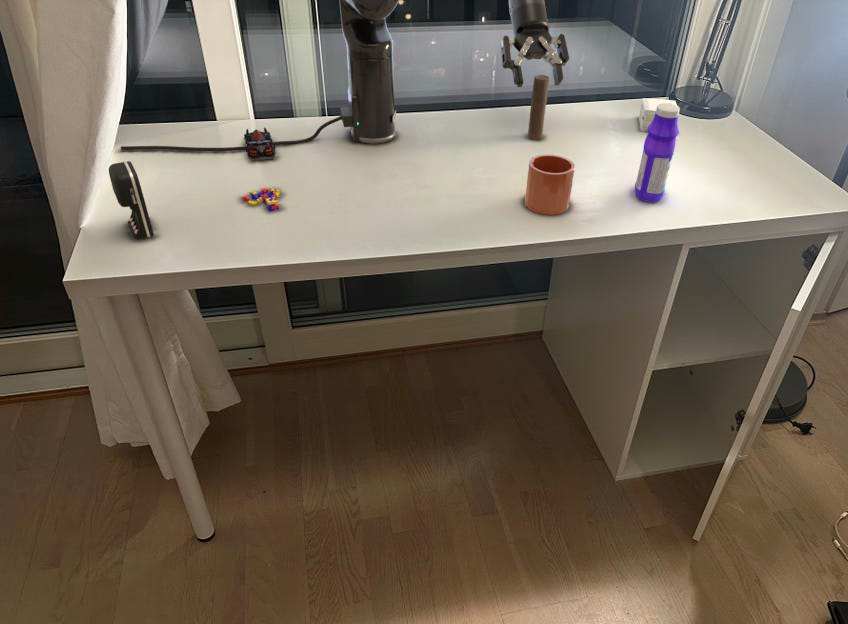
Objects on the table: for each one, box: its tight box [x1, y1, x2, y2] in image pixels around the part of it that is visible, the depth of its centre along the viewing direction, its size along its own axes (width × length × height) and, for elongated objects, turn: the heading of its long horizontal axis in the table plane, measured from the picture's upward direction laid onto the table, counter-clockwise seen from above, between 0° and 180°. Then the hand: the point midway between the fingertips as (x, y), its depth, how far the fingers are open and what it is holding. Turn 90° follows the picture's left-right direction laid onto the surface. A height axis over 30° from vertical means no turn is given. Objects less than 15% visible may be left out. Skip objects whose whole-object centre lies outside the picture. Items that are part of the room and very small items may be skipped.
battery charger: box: [108, 160, 155, 239], centre depth 115 cm, size 7×4×11 cm, turn 30°
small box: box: [638, 97, 677, 132], centre depth 162 cm, size 8×8×5 cm
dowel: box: [527, 74, 550, 141], centre depth 152 cm, size 3×3×13 cm
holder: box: [524, 154, 576, 216], centre depth 130 cm, size 8×8×8 cm
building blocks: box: [242, 186, 281, 212], centre depth 128 cm, size 6×8×2 cm
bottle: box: [634, 103, 681, 203], centre depth 131 cm, size 7×6×17 cm
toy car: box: [243, 126, 277, 161], centre depth 144 cm, size 6×12×4 cm, turn 18°
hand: (539, 84), depth 149 cm, fingers open, 8 cm apart
